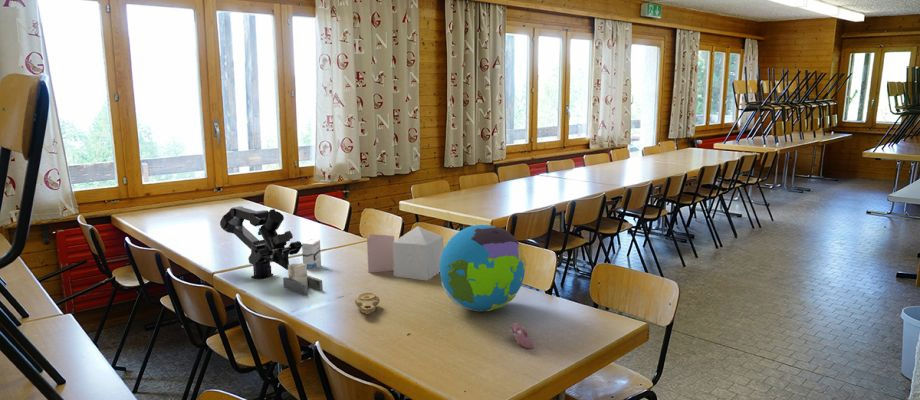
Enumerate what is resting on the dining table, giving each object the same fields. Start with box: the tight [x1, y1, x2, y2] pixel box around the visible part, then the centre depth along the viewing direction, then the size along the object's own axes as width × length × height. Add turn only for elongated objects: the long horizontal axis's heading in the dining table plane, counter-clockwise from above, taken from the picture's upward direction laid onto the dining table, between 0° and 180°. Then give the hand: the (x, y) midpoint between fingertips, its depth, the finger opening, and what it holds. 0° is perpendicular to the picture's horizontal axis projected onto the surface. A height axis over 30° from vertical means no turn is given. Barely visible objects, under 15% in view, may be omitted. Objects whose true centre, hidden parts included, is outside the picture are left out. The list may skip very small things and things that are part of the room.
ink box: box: [301, 238, 322, 269], centre depth 265 cm, size 8×5×12 cm, turn 168°
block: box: [287, 261, 309, 288], centre depth 236 cm, size 5×5×9 cm
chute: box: [282, 274, 323, 296], centre depth 235 cm, size 14×8×5 cm, turn 49°
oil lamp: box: [354, 292, 381, 315], centre depth 214 cm, size 11×14×5 cm
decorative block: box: [393, 226, 444, 281], centre depth 256 cm, size 16×16×20 cm
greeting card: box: [366, 233, 395, 273], centre depth 260 cm, size 11×7×15 cm, turn 71°
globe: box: [439, 224, 527, 312], centre depth 212 cm, size 30×30×30 cm
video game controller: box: [509, 322, 535, 350], centre depth 186 cm, size 10×5×7 cm, turn 5°
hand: (288, 269), depth 240 cm, fingers closed
